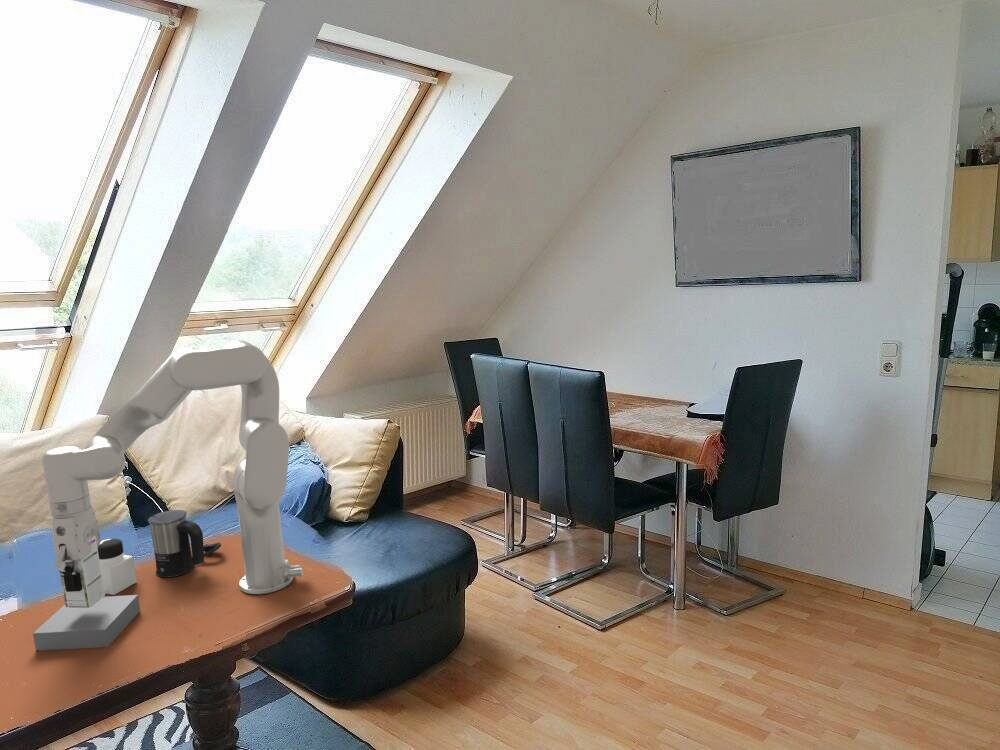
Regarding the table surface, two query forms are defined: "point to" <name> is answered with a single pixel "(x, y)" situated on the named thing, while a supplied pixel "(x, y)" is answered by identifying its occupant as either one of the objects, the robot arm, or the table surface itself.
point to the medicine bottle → (115, 566)
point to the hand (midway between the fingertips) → (82, 582)
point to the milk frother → (177, 543)
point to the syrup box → (86, 580)
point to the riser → (87, 624)
